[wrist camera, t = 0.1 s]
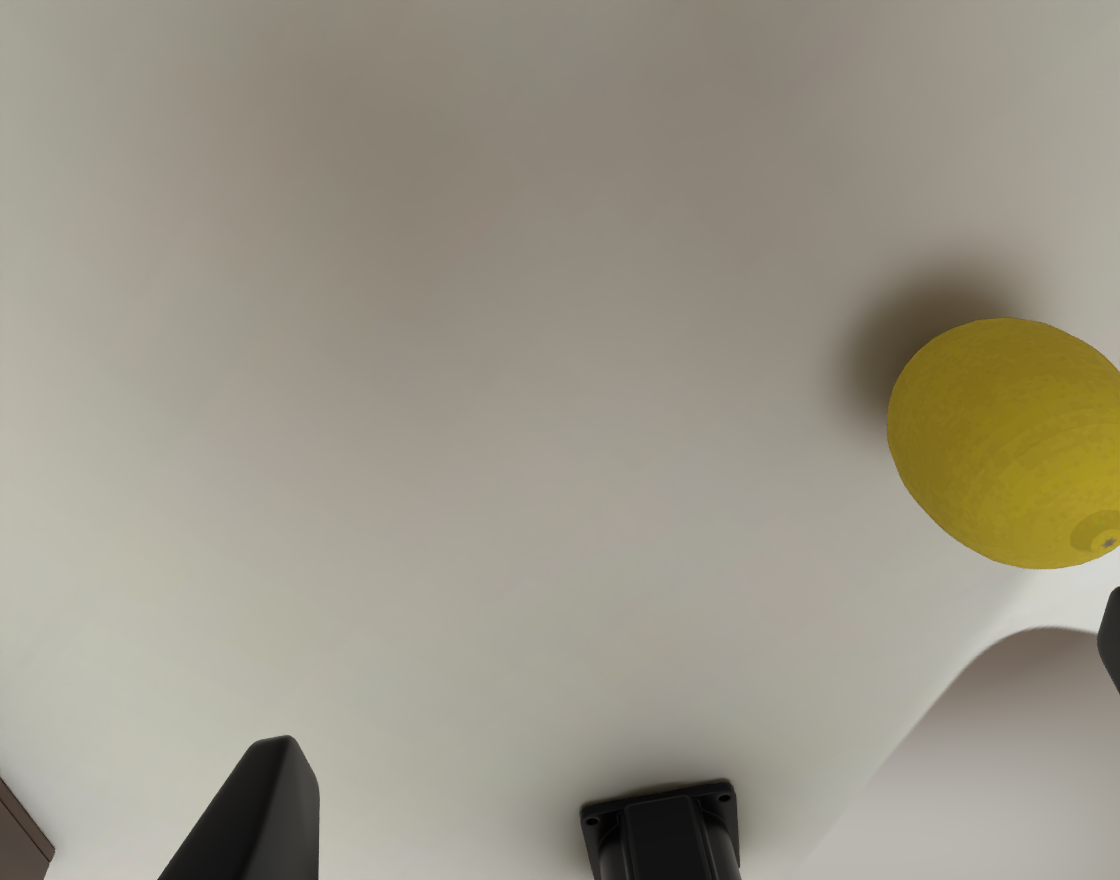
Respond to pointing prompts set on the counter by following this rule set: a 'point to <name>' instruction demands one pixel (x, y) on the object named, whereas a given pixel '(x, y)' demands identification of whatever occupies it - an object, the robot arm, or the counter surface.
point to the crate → (21, 842)
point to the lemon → (1012, 441)
